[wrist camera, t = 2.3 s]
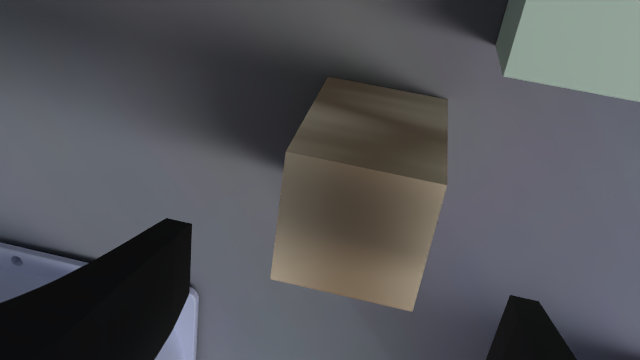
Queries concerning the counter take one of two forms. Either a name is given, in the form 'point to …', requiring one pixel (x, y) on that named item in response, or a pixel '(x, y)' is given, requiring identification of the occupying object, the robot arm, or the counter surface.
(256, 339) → the counter surface
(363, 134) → the beech block
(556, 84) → the sage base block
